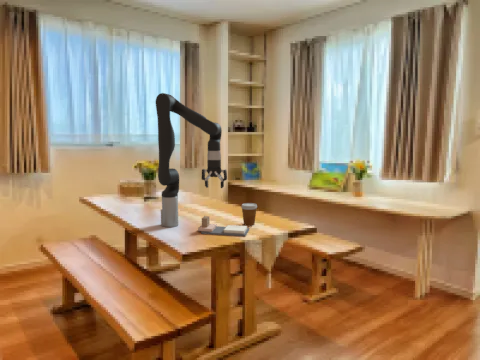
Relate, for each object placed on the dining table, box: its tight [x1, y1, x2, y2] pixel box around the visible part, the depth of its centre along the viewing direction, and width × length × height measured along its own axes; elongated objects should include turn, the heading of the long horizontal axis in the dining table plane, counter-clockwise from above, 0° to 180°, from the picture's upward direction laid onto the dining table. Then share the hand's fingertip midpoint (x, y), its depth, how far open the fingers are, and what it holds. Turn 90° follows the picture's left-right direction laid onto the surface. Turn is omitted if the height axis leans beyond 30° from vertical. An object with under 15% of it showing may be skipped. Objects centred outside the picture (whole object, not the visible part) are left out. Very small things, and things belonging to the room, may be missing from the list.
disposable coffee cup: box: [241, 202, 258, 227], centre depth 208 cm, size 10×10×12 cm
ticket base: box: [200, 224, 250, 237], centre depth 193 cm, size 24×13×2 cm, turn 79°
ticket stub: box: [197, 215, 218, 232], centre depth 195 cm, size 8×10×6 cm
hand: (214, 187), depth 198 cm, fingers open, 8 cm apart
